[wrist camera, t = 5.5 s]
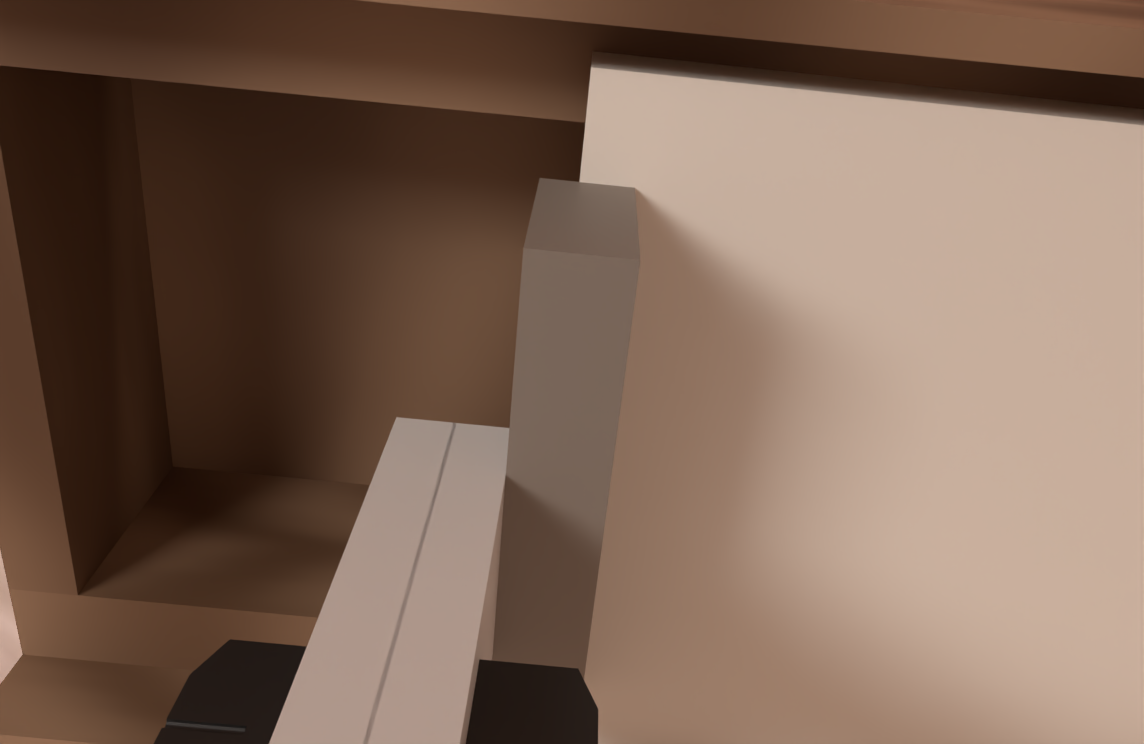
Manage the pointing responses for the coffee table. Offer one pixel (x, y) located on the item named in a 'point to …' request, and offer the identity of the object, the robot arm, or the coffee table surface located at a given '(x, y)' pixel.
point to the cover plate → (833, 414)
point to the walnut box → (321, 274)
